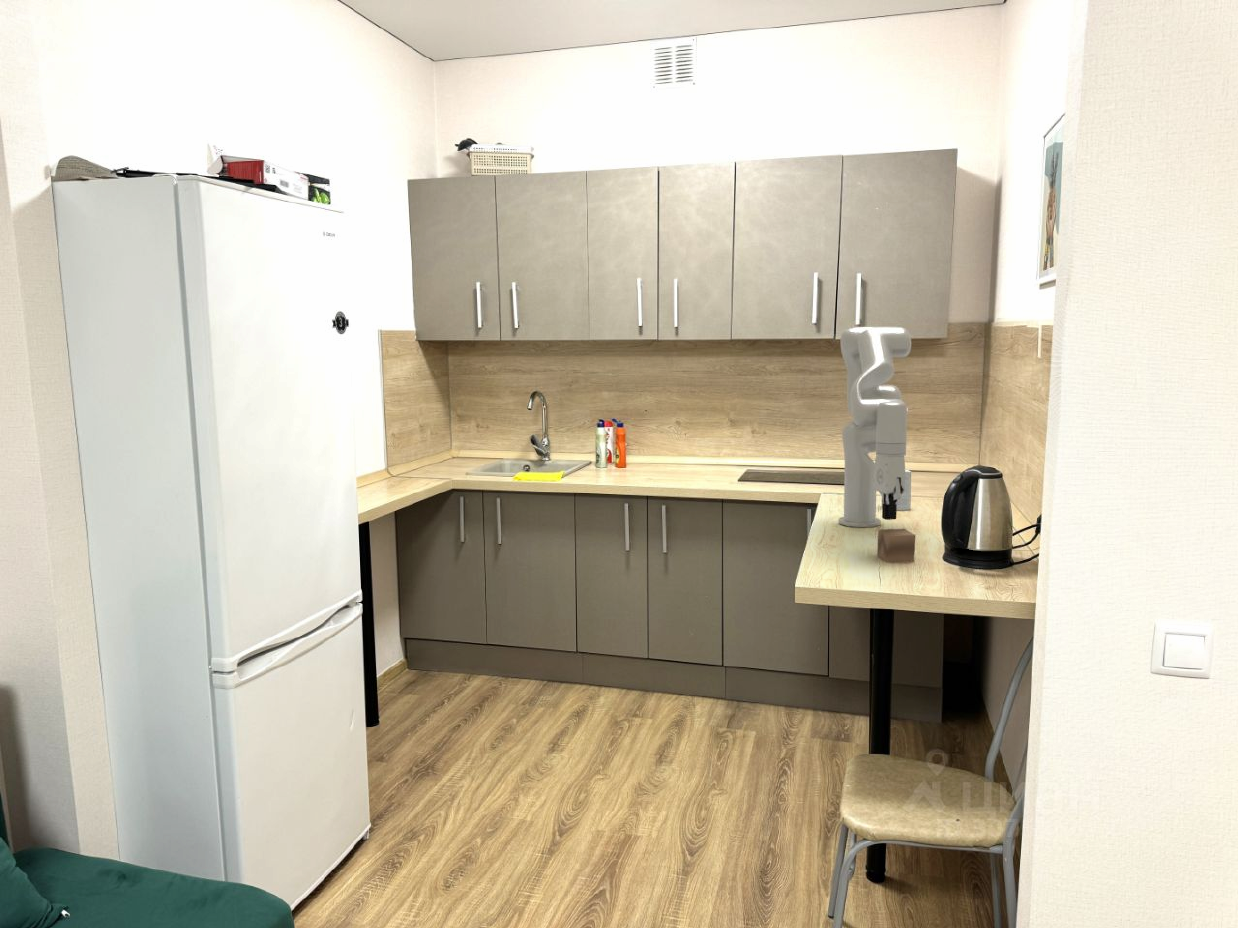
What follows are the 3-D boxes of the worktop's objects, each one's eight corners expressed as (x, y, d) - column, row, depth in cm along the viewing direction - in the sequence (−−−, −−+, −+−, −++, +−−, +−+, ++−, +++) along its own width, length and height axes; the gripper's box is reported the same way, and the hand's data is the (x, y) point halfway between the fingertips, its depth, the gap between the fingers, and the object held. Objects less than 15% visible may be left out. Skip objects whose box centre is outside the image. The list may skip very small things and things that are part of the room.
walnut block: (877, 529, 229) (889, 536, 222) (903, 528, 230) (915, 535, 223) (876, 554, 230) (887, 562, 223) (902, 553, 231) (914, 561, 224)
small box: (904, 506, 297) (905, 468, 295) (910, 510, 291) (911, 471, 289) (880, 507, 297) (881, 469, 295) (886, 510, 291) (887, 471, 289)
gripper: (865, 446, 234) (864, 514, 237) (889, 453, 220) (887, 525, 222) (892, 445, 235) (890, 513, 238) (917, 452, 221) (915, 524, 223)
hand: (889, 518), depth 230 cm, fingers closed
